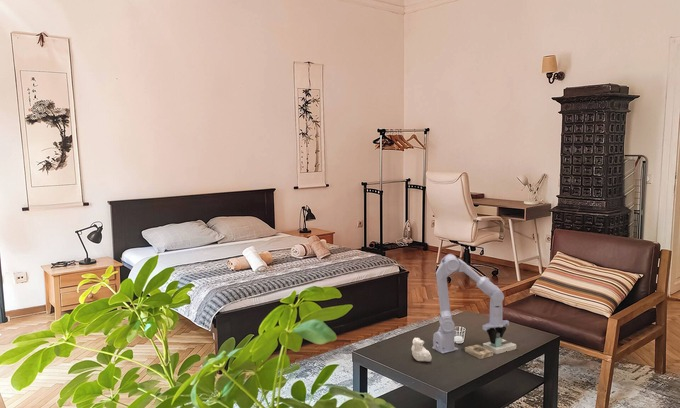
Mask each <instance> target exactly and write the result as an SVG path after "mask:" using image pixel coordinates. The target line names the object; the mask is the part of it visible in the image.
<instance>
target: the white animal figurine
mask: <svg viewBox="0 0 680 408" xmlns="http://www.w3.org/2000/svg"><path fill="white" fill-rule="evenodd" d="M424 344H425V341H424V340H422V339H421V337H414V338H413V339H412V345H411V349H410V350H411V355H412V357H413V359H415V360H416V362H417V361H418V362H431V361H432V355H431V353H430V351H429V350H428V349H426V347H425V346H424Z"/></svg>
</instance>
